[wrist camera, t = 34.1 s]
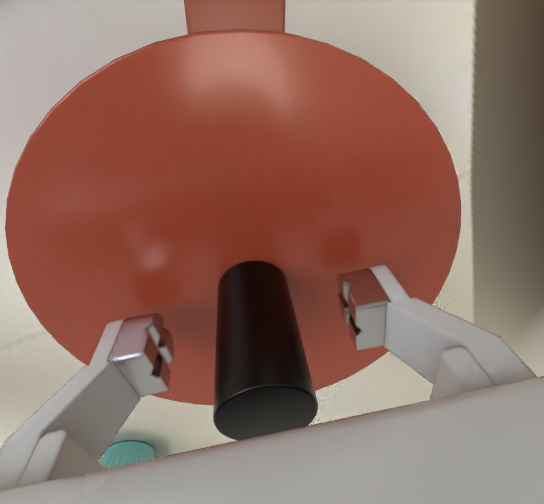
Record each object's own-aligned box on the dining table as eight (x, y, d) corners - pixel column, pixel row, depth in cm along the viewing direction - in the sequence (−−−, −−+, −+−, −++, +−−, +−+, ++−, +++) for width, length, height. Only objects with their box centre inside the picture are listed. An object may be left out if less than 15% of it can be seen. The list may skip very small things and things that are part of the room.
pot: (153, 316, 23) (122, 434, 16) (51, -35, 12) (-181, -136, 5) (334, 301, 24) (377, 404, 17) (387, -25, 13) (555, -94, 7)
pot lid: (105, 399, 15) (51, 558, 10) (-93, 27, 7) (-750, -1, 2) (393, 369, 16) (457, 495, 12) (514, 32, 8) (870, 21, 4)
